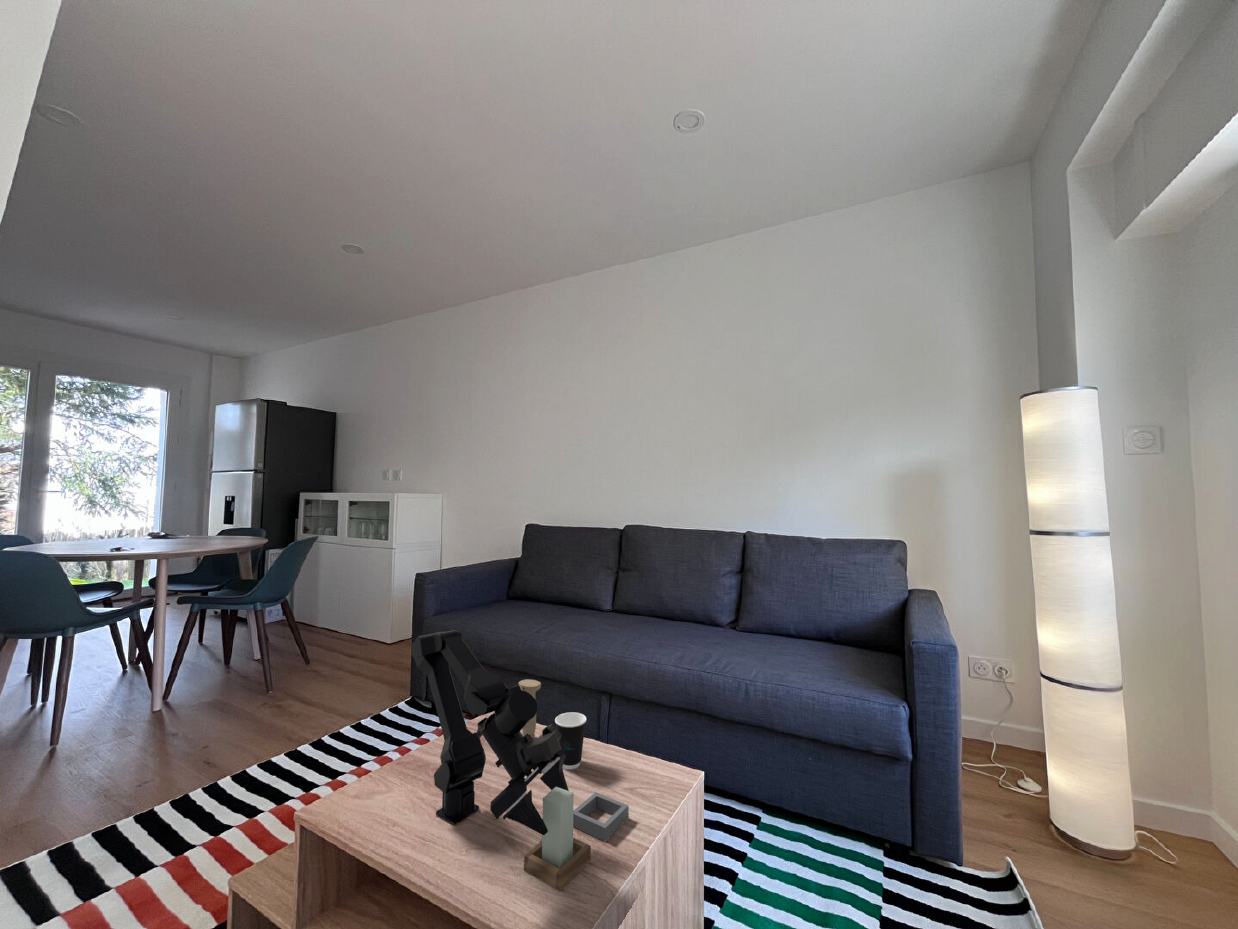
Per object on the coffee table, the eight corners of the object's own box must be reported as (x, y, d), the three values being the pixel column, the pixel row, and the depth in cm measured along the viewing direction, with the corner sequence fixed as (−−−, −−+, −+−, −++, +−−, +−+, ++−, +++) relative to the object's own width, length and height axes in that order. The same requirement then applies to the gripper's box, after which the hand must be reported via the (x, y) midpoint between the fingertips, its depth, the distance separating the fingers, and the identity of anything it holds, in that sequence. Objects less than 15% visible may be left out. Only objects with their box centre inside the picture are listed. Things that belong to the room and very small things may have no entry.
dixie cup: (556, 775, 117) (557, 727, 118) (552, 758, 125) (553, 714, 126) (589, 770, 119) (589, 723, 120) (582, 754, 127) (583, 710, 128)
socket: (570, 825, 99) (571, 813, 99) (595, 804, 106) (595, 792, 106) (605, 841, 94) (605, 828, 94) (628, 818, 101) (628, 805, 101)
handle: (531, 745, 131) (532, 688, 132) (514, 739, 135) (515, 683, 136) (543, 738, 135) (544, 682, 137) (526, 732, 139) (527, 678, 140)
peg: (541, 868, 87) (542, 798, 88) (555, 854, 91) (555, 786, 92) (560, 876, 85) (560, 804, 86) (572, 861, 89) (573, 792, 90)
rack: (523, 870, 87) (524, 855, 87) (555, 842, 94) (555, 829, 94) (560, 891, 82) (560, 875, 82) (590, 860, 89) (590, 846, 89)
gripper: (506, 740, 83) (563, 823, 78) (558, 699, 100) (607, 765, 96) (467, 778, 85) (520, 862, 81) (524, 732, 103) (570, 798, 98)
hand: (558, 817), depth 89 cm, fingers open, 9 cm apart
